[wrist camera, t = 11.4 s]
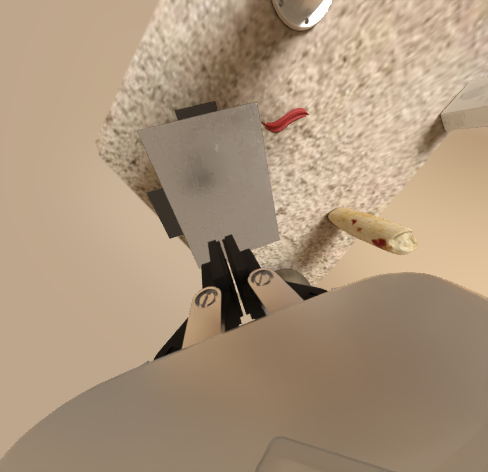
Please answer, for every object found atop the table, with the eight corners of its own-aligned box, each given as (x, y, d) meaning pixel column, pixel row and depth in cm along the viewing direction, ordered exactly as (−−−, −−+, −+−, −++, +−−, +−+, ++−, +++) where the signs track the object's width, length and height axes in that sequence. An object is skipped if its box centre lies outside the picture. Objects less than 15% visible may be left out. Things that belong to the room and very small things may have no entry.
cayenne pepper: (259, 132, 39) (262, 131, 37) (259, 107, 37) (263, 105, 35) (307, 132, 42) (312, 131, 40) (309, 108, 40) (315, 106, 38)
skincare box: (444, 132, 51) (500, 126, 42) (439, 114, 48) (497, 103, 39) (474, 100, 49) (539, 87, 40) (470, 79, 47) (539, 60, 37)
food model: (321, 223, 53) (384, 256, 35) (330, 202, 51) (404, 225, 33) (344, 229, 56) (413, 262, 38) (354, 209, 54) (433, 234, 36)
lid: (121, 136, 23) (118, 135, 22) (254, 103, 26) (256, 101, 25) (187, 269, 34) (186, 272, 33) (277, 237, 36) (279, 239, 35)
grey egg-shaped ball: (299, 257, 56) (332, 288, 43) (291, 292, 61) (317, 329, 48) (258, 259, 52) (280, 294, 39) (253, 296, 58) (270, 337, 44)
